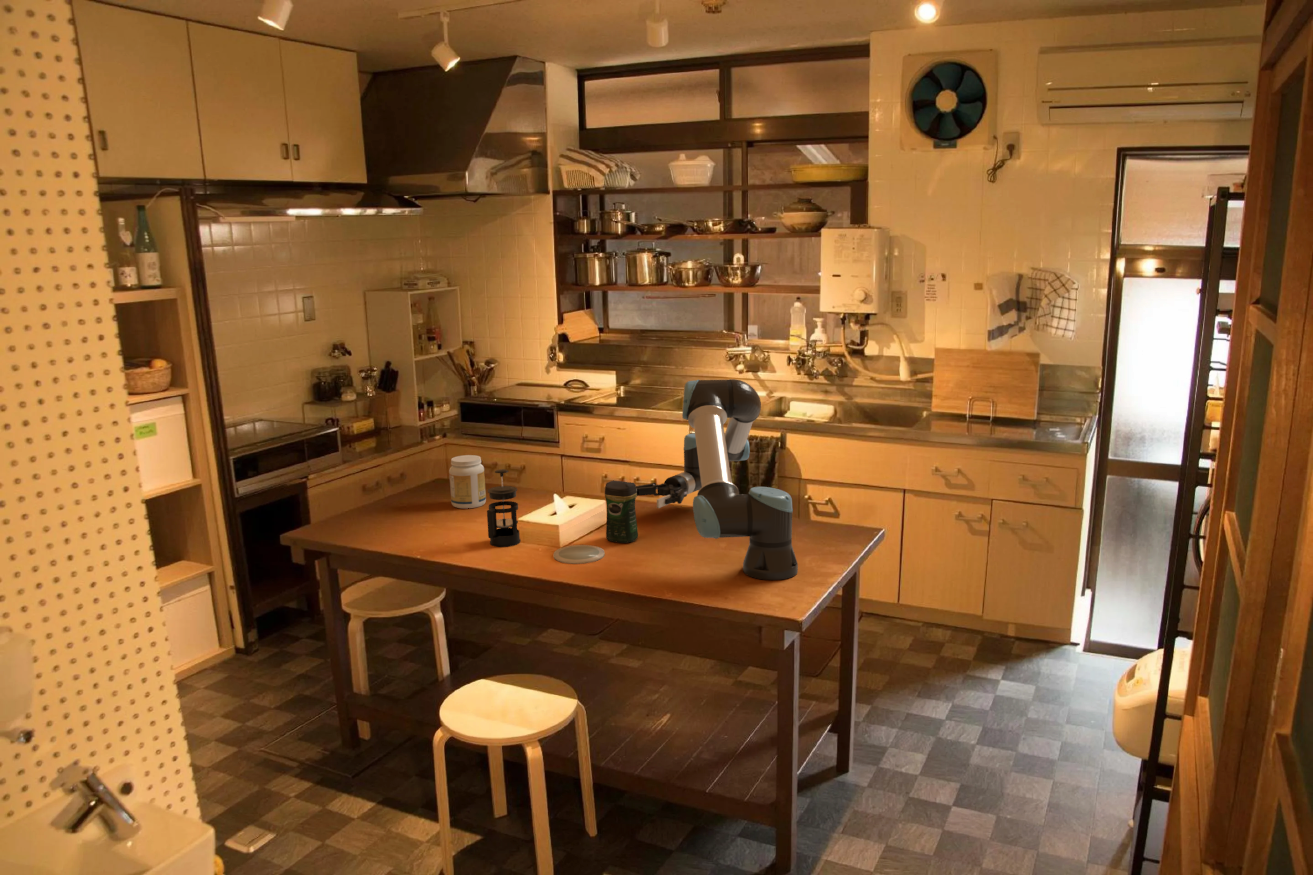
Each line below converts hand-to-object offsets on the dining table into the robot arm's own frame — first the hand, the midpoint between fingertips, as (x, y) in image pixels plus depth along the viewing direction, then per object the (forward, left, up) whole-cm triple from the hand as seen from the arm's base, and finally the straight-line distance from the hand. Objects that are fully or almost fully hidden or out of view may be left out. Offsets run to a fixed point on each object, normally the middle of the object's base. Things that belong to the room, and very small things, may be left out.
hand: (640, 500), depth 300 cm
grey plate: (-16, +24, -10) cm, 30 cm away
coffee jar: (-6, +8, -10) cm, 14 cm away
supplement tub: (+52, +48, -10) cm, 72 cm away
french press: (+4, +43, -10) cm, 44 cm away
